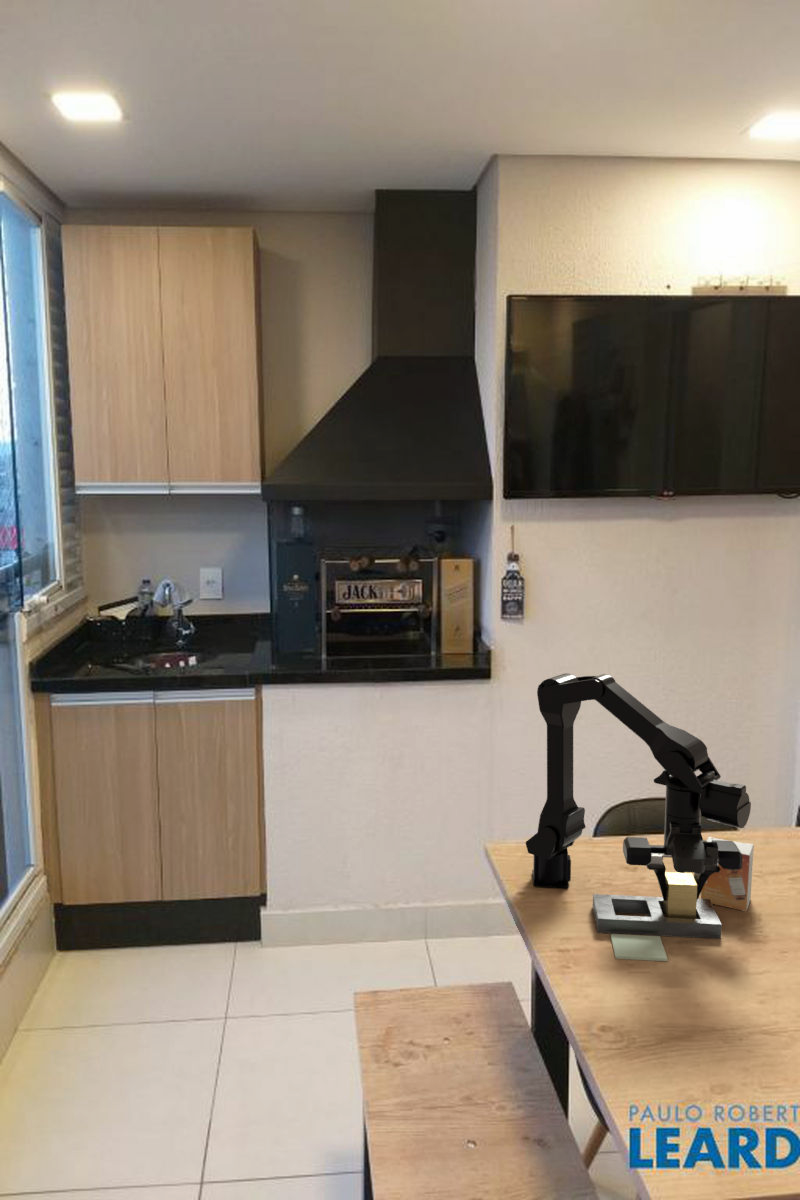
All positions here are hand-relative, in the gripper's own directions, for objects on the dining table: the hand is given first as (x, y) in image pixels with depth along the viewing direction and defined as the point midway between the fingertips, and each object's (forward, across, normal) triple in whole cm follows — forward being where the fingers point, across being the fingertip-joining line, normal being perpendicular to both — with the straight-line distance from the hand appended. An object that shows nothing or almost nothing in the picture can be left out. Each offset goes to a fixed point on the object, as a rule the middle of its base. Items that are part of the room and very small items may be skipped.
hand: (679, 900), depth 154 cm
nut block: (+3, 0, 0) cm, 3 cm away
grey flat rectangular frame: (+4, -4, 0) cm, 6 cm away
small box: (+4, +10, +10) cm, 15 cm away
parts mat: (+4, -8, -9) cm, 13 cm away
